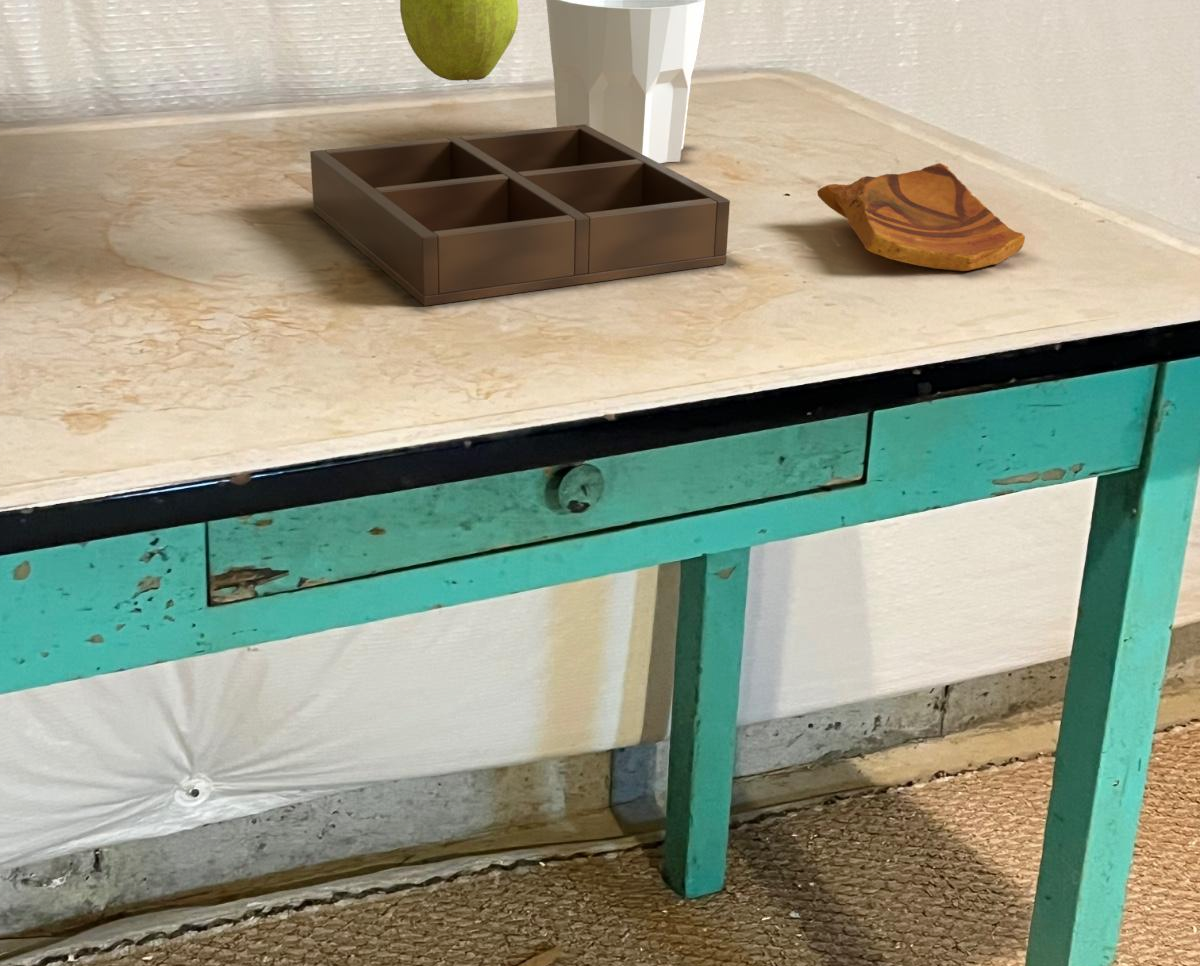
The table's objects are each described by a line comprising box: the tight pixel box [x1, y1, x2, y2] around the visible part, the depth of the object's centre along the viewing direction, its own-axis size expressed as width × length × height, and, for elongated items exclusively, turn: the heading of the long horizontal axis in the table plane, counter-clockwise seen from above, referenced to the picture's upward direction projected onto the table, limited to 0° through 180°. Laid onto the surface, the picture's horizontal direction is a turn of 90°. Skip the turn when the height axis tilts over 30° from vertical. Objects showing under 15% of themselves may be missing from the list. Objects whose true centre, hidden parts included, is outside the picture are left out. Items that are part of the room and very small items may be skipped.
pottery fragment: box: [816, 162, 1026, 272], centre depth 94 cm, size 10×5×10 cm
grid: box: [309, 124, 731, 307], centre depth 94 cm, size 17×17×4 cm
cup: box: [545, 0, 707, 164], centre depth 109 cm, size 10×10×10 cm
